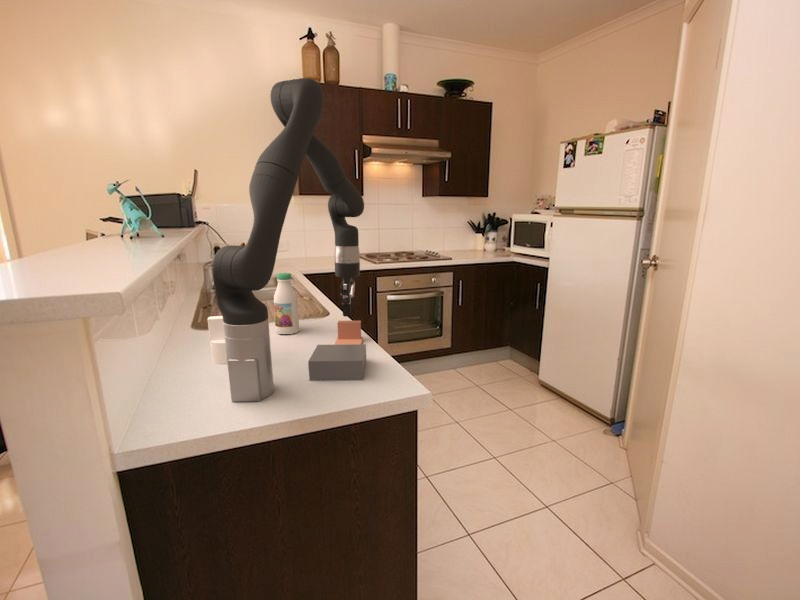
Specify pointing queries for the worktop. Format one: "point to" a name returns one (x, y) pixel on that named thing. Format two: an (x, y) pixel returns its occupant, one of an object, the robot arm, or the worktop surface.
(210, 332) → the base with upright slab
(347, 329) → the peach l-shaped block
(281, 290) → the milk bottle
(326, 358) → the grey square block
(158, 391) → the worktop surface
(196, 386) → the worktop surface
